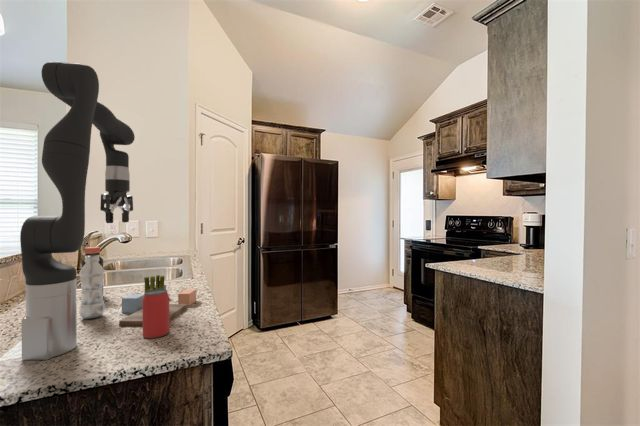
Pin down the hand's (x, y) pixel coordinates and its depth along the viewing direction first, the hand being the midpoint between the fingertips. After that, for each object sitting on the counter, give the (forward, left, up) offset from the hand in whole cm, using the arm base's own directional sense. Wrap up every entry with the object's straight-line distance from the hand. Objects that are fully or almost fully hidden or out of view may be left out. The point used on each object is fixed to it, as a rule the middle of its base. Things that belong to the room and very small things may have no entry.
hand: (117, 222), depth 111 cm
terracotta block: (0, -26, -30) cm, 40 cm away
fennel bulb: (-14, -22, -29) cm, 39 cm away
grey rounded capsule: (+6, -12, -30) cm, 33 cm away
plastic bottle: (-15, -2, -30) cm, 34 cm away
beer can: (-28, -30, -30) cm, 51 cm away
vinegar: (+7, +15, -30) cm, 35 cm away
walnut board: (-14, -22, -30) cm, 40 cm away
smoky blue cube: (-8, -11, -30) cm, 33 cm away
